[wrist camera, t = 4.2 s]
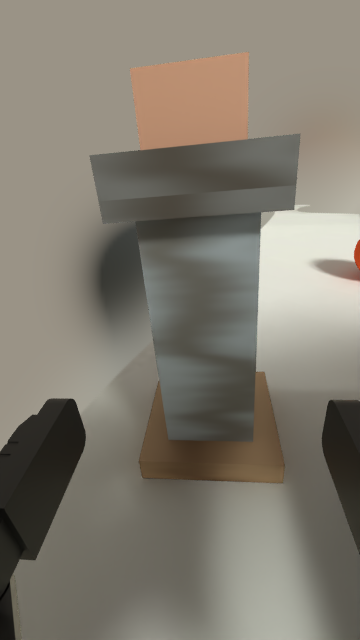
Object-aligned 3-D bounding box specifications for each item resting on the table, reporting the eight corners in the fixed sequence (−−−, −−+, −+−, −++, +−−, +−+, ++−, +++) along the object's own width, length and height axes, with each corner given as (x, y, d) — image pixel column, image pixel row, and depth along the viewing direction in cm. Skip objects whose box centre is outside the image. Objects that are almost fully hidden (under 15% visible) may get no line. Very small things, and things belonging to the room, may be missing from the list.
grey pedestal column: (263, 387, 24) (276, 139, 16) (282, 483, 17) (321, 131, 9) (162, 387, 25) (128, 154, 17) (142, 477, 18) (69, 157, 10)
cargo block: (239, 177, 15) (240, 77, 14) (247, 184, 12) (248, 51, 10) (161, 183, 16) (151, 88, 14) (146, 193, 12) (130, 68, 11)
